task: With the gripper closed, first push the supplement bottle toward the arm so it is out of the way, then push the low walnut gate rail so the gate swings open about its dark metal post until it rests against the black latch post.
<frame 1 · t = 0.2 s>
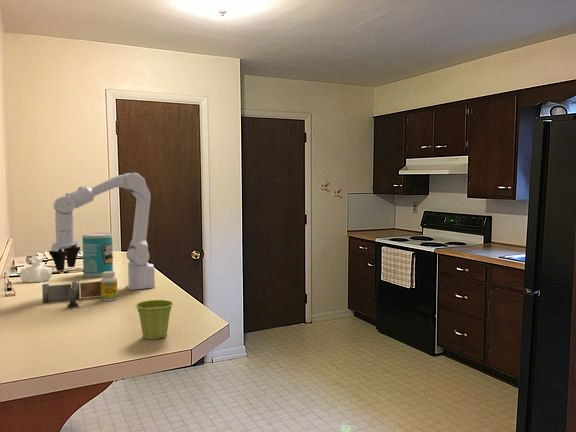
hand: (65, 268, 170), 10 cm above the kitchen counter, tool pointing down, fingers open, 7 cm apart
gate: (98, 288, 169), point 3 cm above the kitchen counter, hinge at 0.0°
food can: (98, 275, 210), on the kitchen counter
supplement bottle: (109, 300, 166), on the kitchen counter
plant pot: (155, 337, 126), on the kitchen counter
latch post: (72, 306, 155), on the kitchen counter
fence: (76, 299, 166), on the kitchen counter
bust: (36, 281, 196), on the kitchen counter
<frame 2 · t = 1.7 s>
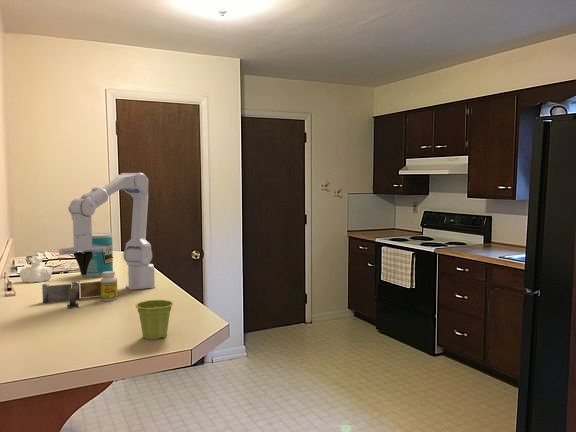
hand: (83, 274, 161), 9 cm above the kitchen counter, tool pointing down, fingers closed
nothing on the kitchen counter moved.
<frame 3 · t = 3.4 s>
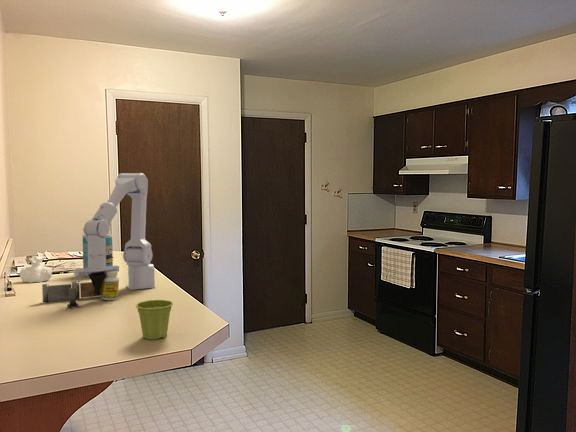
hand: (97, 294, 163), 2 cm above the kitchen counter, tool pointing down, fingers closed
supplement bottle: (109, 299, 166), on the kitchen counter, touching gripper
everything else where it was.
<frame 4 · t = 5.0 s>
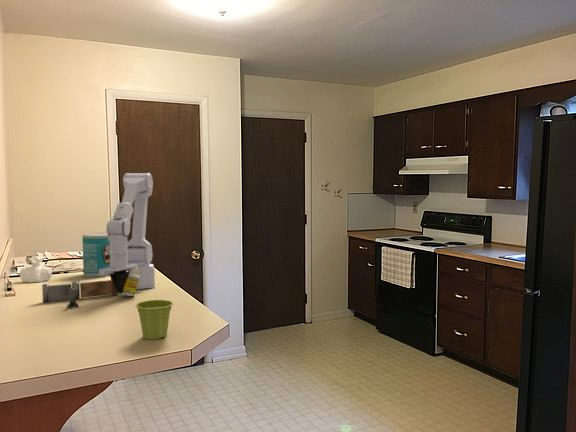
hand: (119, 292, 167), 2 cm above the kitchen counter, tool pointing down, fingers closed
supplement bottle: (126, 295, 169), point 1 cm above the kitchen counter, touching gripper
everything else where it was.
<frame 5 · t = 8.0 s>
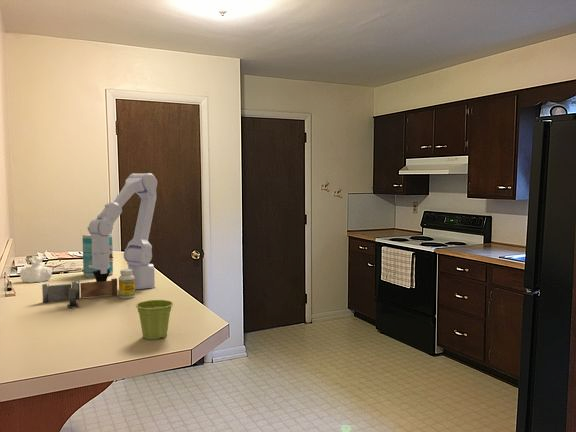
hand: (101, 290, 171), 2 cm above the kitchen counter, tool pointing down, fingers closed, pressing on gate
gate: (99, 288, 169), point 3 cm above the kitchen counter, hinge at 4.2°, touching gripper
supplement bottle: (127, 297, 169), on the kitchen counter
everything else where it was.
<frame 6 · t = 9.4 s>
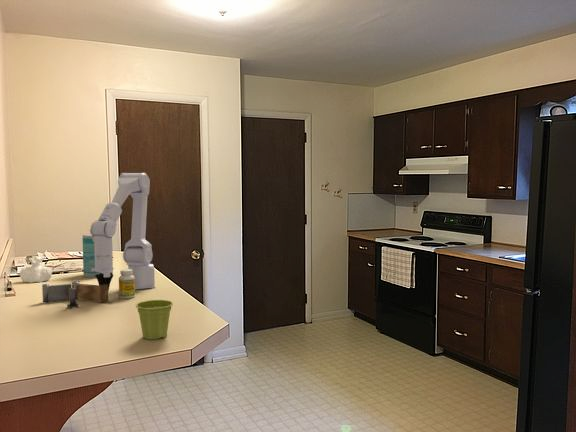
hand: (104, 294, 165), 2 cm above the kitchen counter, tool pointing down, fingers closed
gate: (92, 292, 163), point 3 cm above the kitchen counter, hinge at 51.2°, touching gripper
everything else where it was.
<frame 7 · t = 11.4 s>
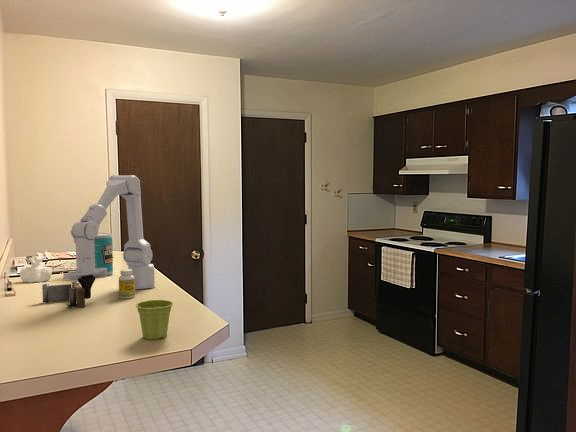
hand: (86, 298, 159), 2 cm above the kitchen counter, tool pointing down, fingers closed, pressing on gate
gate: (79, 294, 159), point 3 cm above the kitchen counter, hinge at 87.6°, touching gripper, latch post
everything else where it was.
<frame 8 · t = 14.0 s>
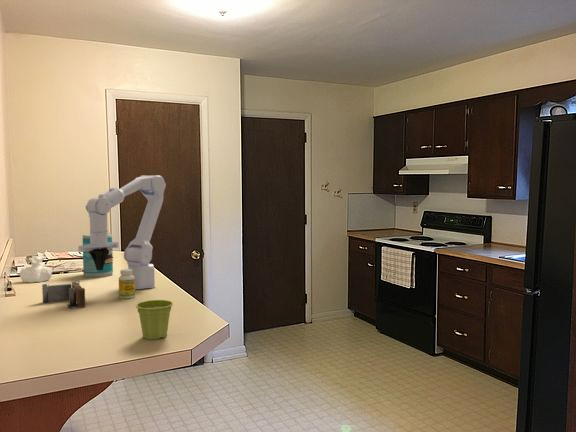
hand: (99, 269, 170), 9 cm above the kitchen counter, tool pointing down, fingers closed
gate: (79, 294, 159), point 3 cm above the kitchen counter, hinge at 87.6°, touching latch post
everything else where it was.
at the end: gate at +88° (first picture: +0°); supplement bottle inside the target area (1.5 cm from its centre), on the kitchen counter; supplement bottle tilted 0° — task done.
